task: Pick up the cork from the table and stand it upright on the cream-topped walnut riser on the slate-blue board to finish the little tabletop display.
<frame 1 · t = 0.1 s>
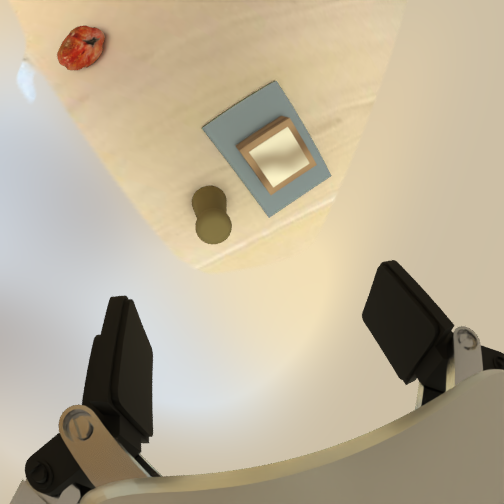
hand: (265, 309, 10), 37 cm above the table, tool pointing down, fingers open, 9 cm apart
cork: (209, 201, 46), on the table
pomegranate: (88, 50, 27), on the table
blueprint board: (271, 150, 43), on the table
walnut riser: (272, 151, 42), resting on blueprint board
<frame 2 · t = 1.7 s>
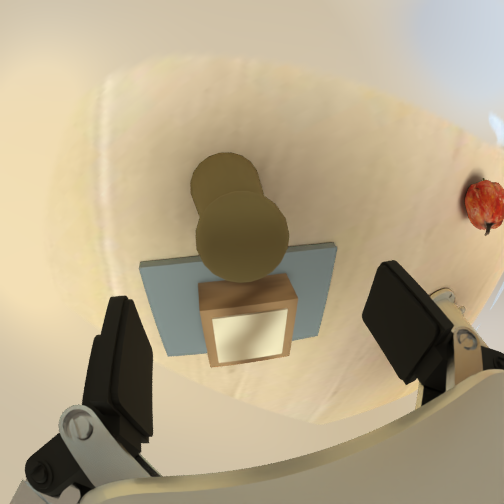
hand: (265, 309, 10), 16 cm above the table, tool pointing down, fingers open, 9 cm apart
cork: (225, 185, 23), on the table
pomegranate: (470, 193, 29), on the table
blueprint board: (242, 304, 30), on the table
walnut riser: (243, 310, 30), resting on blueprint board
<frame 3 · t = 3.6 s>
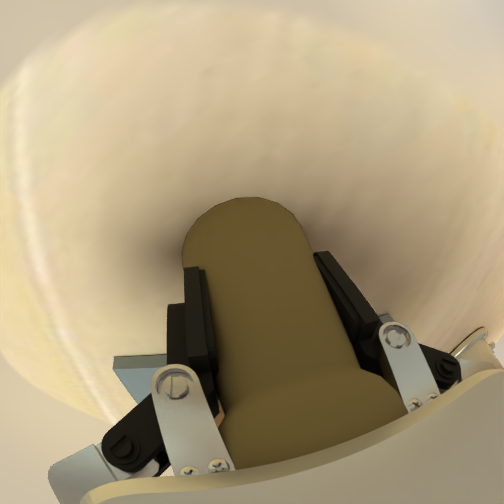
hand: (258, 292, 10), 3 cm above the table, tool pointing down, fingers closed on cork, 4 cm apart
cork: (244, 254, 13), on the table, touching gripper
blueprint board: (260, 391, 21), on the table
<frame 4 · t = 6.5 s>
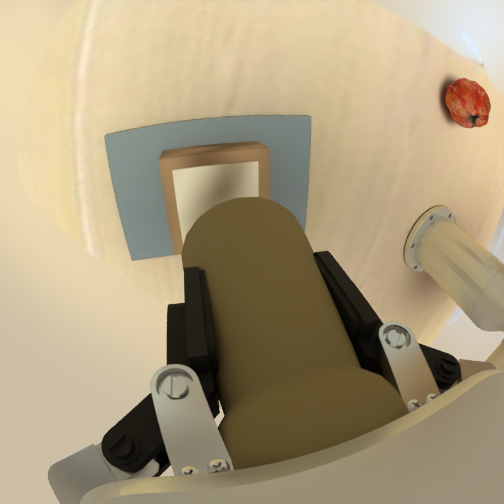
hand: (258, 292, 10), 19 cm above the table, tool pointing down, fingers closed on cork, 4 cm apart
cork: (244, 254, 13), point 16 cm above the table, touching gripper
pomegranate: (450, 98, 26), on the table
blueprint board: (212, 185, 27), on the table
walnut riser: (213, 188, 26), resting on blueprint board
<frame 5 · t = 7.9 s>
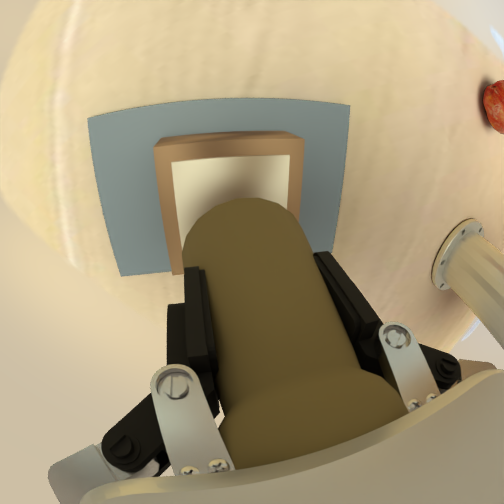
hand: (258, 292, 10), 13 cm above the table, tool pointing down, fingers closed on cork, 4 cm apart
cork: (244, 254, 13), point 10 cm above the table, touching gripper
pomegranate: (487, 101, 20), on the table
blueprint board: (224, 185, 21), on the table
walnut riser: (225, 189, 20), resting on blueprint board
when the fingers open (9 cm above the table, at t = 9.3 s): cork drops 1 cm, resting on walnut riser.
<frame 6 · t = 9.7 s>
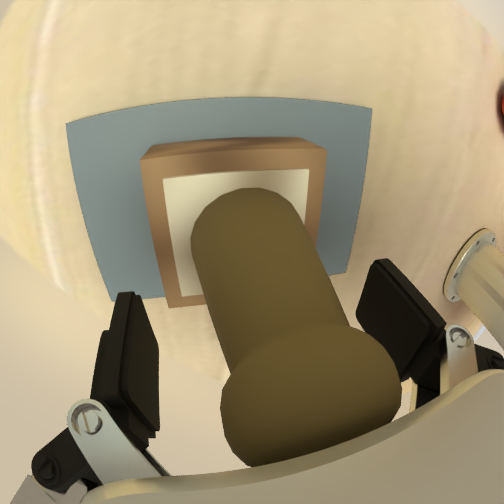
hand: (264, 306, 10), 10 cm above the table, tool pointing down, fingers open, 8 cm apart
cork: (247, 240, 14), point 5 cm above the table, touching walnut riser
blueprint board: (227, 200, 18), on the table
walnut riser: (229, 206, 17), resting on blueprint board
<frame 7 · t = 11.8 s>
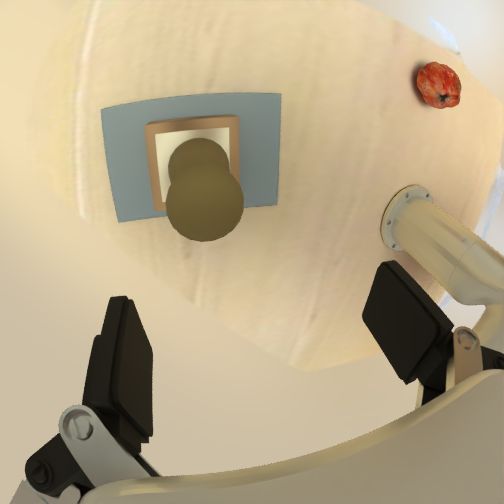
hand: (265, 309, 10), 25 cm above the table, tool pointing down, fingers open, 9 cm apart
cork: (198, 167, 25), point 5 cm above the table, touching walnut riser
pomegranate: (423, 82, 29), on the table
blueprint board: (192, 154, 29), on the table
walnut riser: (192, 156, 28), resting on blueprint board
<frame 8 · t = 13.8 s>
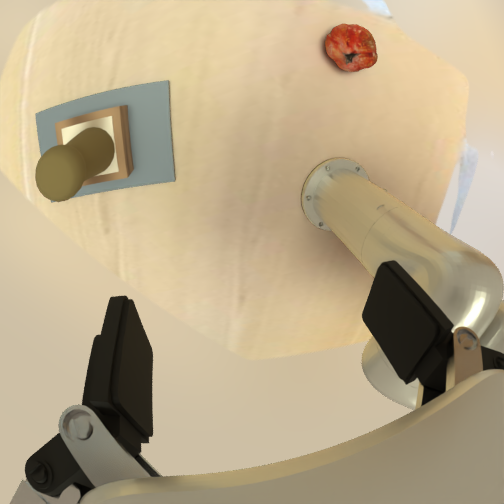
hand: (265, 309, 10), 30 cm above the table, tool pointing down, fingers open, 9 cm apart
cork: (92, 151, 26), point 5 cm above the table, touching walnut riser
pomegranate: (339, 49, 29), on the table
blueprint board: (101, 142, 30), on the table
walnut riser: (99, 143, 29), resting on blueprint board
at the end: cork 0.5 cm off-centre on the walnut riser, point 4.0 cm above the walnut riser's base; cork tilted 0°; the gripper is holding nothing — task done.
